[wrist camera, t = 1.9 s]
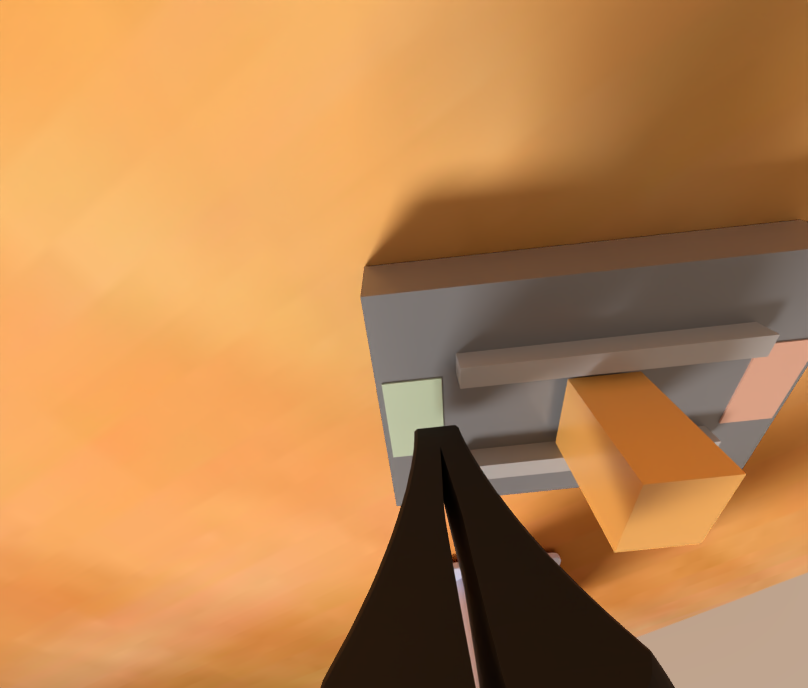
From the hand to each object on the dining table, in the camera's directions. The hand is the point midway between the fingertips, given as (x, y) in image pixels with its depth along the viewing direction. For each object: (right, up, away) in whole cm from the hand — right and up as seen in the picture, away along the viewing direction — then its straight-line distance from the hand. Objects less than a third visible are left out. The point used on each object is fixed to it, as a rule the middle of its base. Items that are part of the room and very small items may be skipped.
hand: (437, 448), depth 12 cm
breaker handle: (+6, +1, +1) cm, 6 cm away
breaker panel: (+5, +3, +3) cm, 7 cm away
